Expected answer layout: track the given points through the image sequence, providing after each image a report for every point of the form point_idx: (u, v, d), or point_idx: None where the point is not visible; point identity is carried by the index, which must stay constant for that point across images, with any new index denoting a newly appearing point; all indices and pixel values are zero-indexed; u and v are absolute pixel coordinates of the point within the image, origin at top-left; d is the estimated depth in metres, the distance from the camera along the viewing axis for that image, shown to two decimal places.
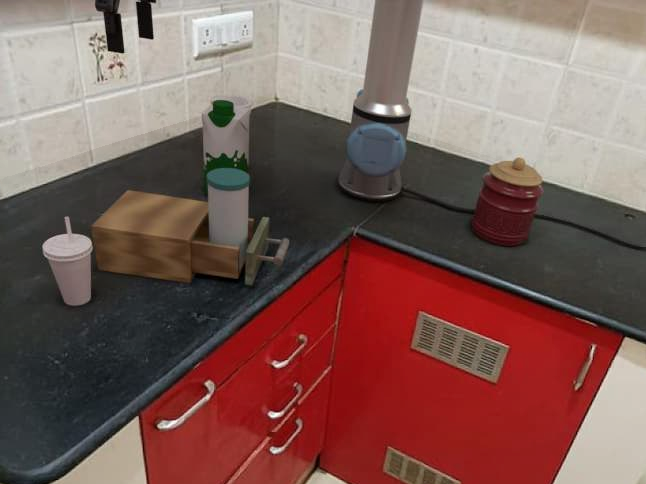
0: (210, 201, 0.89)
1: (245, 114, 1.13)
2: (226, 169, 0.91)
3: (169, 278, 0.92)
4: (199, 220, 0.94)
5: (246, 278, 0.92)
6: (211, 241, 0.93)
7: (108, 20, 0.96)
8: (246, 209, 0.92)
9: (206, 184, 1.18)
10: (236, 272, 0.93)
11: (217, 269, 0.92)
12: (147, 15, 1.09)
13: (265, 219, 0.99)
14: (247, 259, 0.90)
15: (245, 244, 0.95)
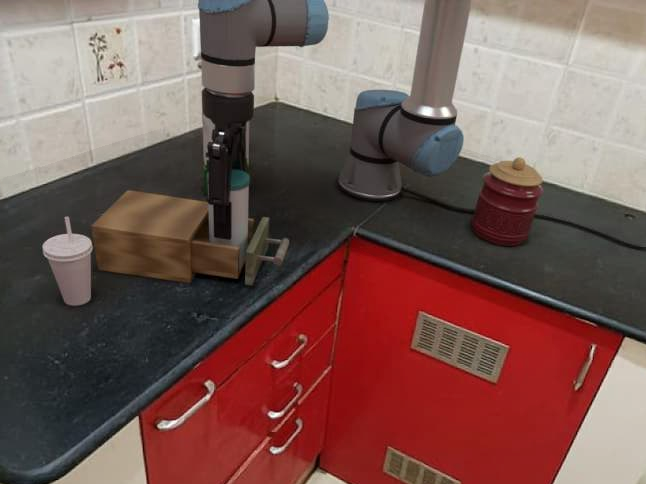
0: None
1: None
2: None
3: (169, 278, 0.92)
4: (199, 220, 0.94)
5: (246, 278, 0.92)
6: (211, 241, 0.93)
7: (219, 211, 0.87)
8: (246, 209, 0.92)
9: (206, 184, 1.18)
10: (236, 272, 0.93)
11: (217, 269, 0.92)
12: None
13: (265, 219, 0.99)
14: (247, 259, 0.90)
15: (245, 244, 0.95)
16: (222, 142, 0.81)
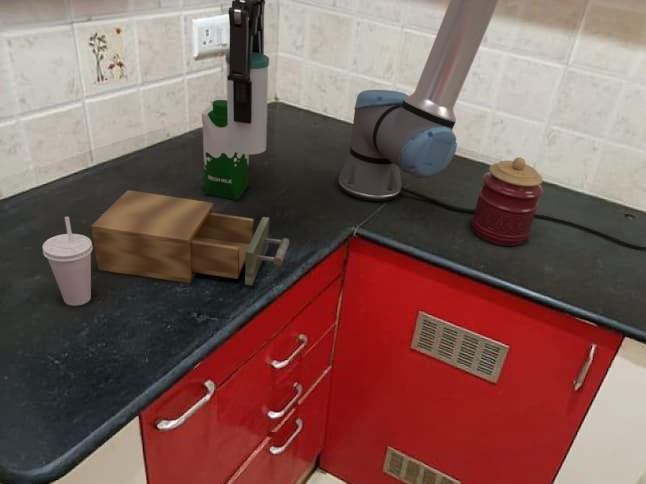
0: (229, 82, 0.87)
1: None
2: None
3: (169, 278, 0.92)
4: (199, 220, 0.94)
5: (246, 278, 0.92)
6: (230, 128, 0.92)
7: (239, 90, 0.85)
8: (266, 92, 0.90)
9: (206, 184, 1.18)
10: (236, 272, 0.93)
11: (217, 269, 0.92)
12: None
13: (265, 219, 0.99)
14: (247, 259, 0.90)
15: (264, 133, 0.93)
16: None
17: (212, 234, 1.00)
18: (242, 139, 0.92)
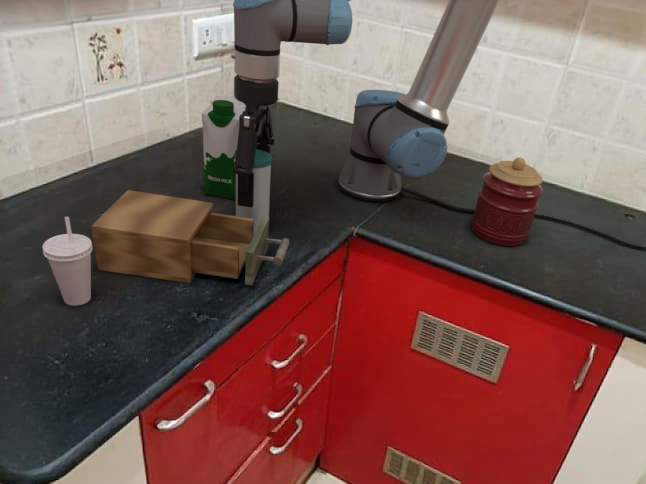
0: None
1: None
2: None
3: (169, 278, 0.92)
4: (199, 220, 0.94)
5: (246, 278, 0.92)
6: (238, 213, 1.07)
7: (243, 181, 0.97)
8: (269, 184, 1.05)
9: (206, 184, 1.18)
10: (236, 272, 0.93)
11: (217, 269, 0.92)
12: None
13: (265, 219, 0.99)
14: (247, 259, 0.90)
15: (267, 216, 1.09)
16: None
17: (212, 234, 1.00)
18: None
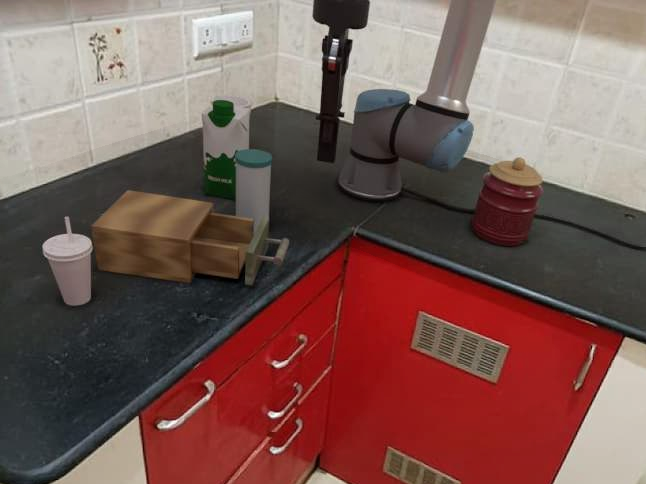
0: (238, 177, 1.03)
1: (245, 114, 1.13)
2: (251, 150, 1.05)
3: (169, 278, 0.92)
4: (199, 220, 0.94)
5: (246, 278, 0.92)
6: (238, 213, 1.07)
7: (327, 129, 0.82)
8: (269, 184, 1.05)
9: (206, 184, 1.18)
10: (236, 272, 0.93)
11: (217, 269, 0.92)
12: None
13: (265, 219, 0.99)
14: (247, 259, 0.90)
15: (267, 216, 1.09)
16: (337, 53, 0.74)
17: (212, 234, 1.00)
18: None
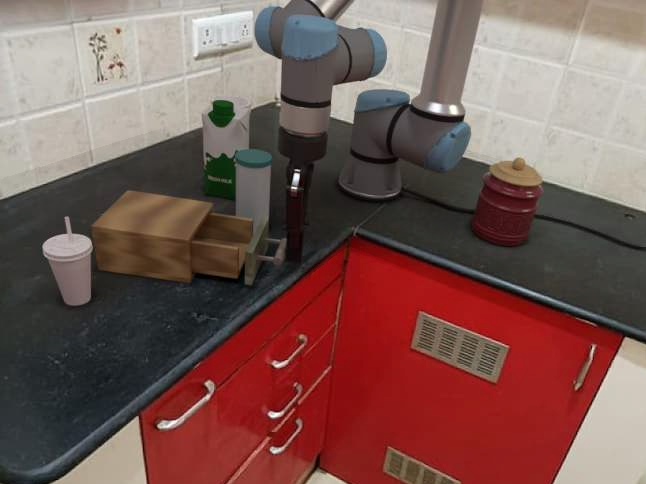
0: (238, 177, 1.03)
1: (245, 114, 1.13)
2: (251, 150, 1.05)
3: (169, 278, 0.92)
4: (199, 220, 0.94)
5: (246, 278, 0.92)
6: (238, 213, 1.07)
7: (293, 238, 0.92)
8: (269, 184, 1.05)
9: (206, 184, 1.18)
10: (236, 272, 0.93)
11: (217, 269, 0.92)
12: None
13: (265, 219, 0.99)
14: (247, 259, 0.90)
15: (267, 216, 1.09)
16: (298, 181, 0.84)
17: (212, 234, 1.00)
18: None
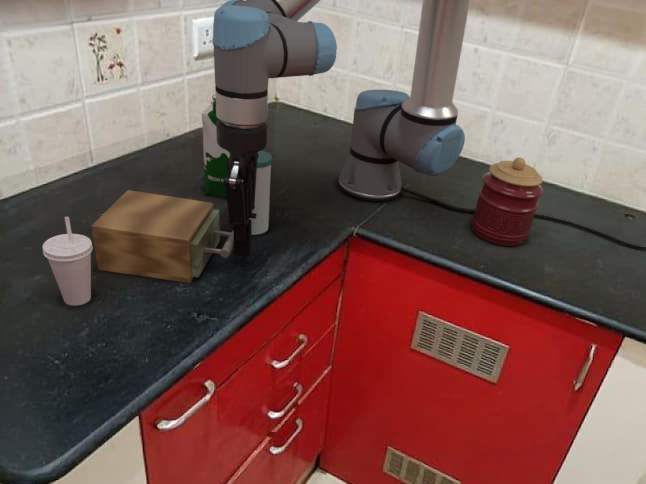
0: None
1: None
2: None
3: (169, 278, 0.92)
4: (199, 220, 0.94)
5: (192, 270, 0.92)
6: None
7: (239, 231, 0.92)
8: (269, 184, 1.05)
9: (206, 184, 1.18)
10: None
11: None
12: None
13: (215, 212, 0.99)
14: (192, 251, 0.90)
15: (267, 216, 1.09)
16: (238, 174, 0.84)
17: None
18: None
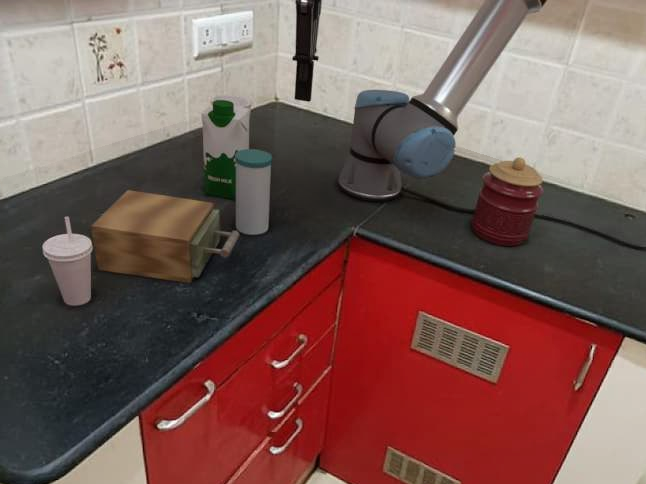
0: (238, 177, 1.03)
1: (245, 114, 1.13)
2: (251, 150, 1.05)
3: (169, 278, 0.92)
4: (199, 220, 0.94)
5: (192, 270, 0.92)
6: (238, 213, 1.07)
7: (303, 69, 0.93)
8: (269, 184, 1.05)
9: (206, 184, 1.18)
10: None
11: None
12: None
13: (215, 212, 0.99)
14: (192, 251, 0.90)
15: (267, 216, 1.09)
16: None
17: None
18: (247, 223, 1.07)
